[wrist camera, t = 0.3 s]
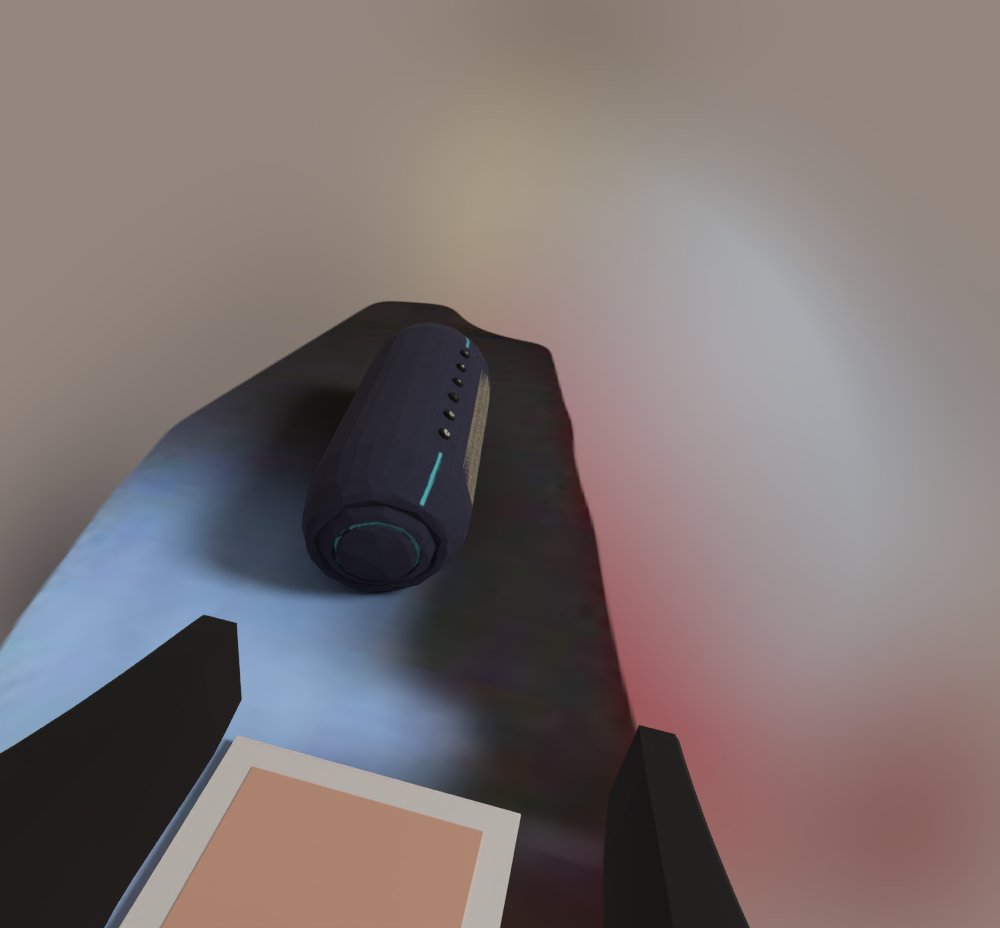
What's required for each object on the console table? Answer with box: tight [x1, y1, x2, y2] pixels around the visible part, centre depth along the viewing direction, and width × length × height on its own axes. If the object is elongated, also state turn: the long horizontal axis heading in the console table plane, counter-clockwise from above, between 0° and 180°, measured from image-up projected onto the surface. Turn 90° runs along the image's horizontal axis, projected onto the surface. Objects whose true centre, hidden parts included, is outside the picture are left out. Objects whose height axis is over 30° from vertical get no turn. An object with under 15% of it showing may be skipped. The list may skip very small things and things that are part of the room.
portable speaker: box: [302, 322, 491, 592], centre depth 47 cm, size 25×10×10 cm, turn 176°
